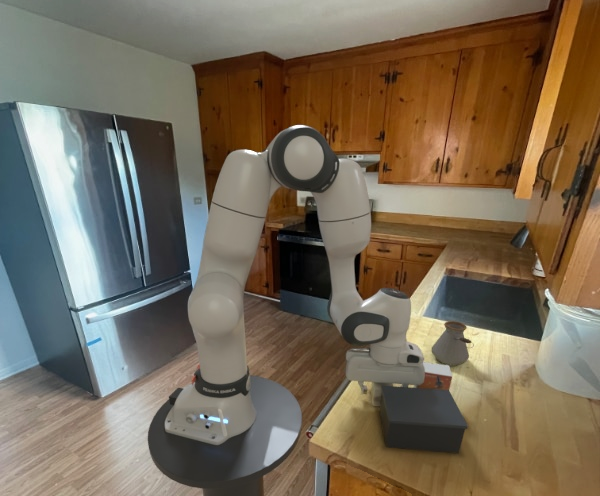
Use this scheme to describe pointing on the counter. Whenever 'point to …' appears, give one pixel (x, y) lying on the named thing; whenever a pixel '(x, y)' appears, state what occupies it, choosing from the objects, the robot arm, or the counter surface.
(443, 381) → the small box
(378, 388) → the beige cube block
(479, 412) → the counter surface
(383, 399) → the storage box
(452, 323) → the coffee pot
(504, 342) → the counter surface
